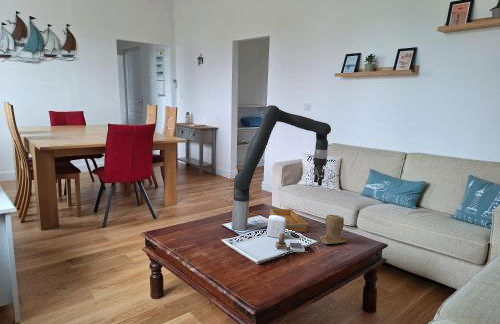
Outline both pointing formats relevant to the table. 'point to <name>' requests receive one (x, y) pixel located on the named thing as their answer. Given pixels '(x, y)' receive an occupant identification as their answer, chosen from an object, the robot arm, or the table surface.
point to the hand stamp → (281, 242)
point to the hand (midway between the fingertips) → (317, 184)
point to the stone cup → (333, 230)
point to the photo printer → (276, 226)
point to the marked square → (317, 248)
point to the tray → (291, 219)
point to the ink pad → (296, 247)
